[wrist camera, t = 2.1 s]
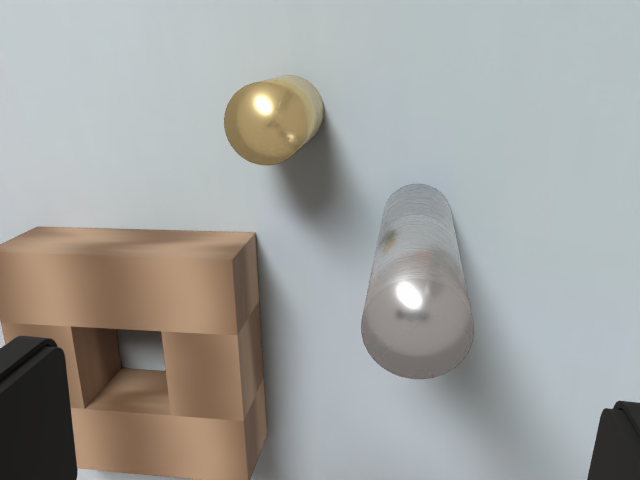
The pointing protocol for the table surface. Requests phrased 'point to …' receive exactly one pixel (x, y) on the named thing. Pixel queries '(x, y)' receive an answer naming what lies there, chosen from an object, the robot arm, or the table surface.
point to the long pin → (417, 289)
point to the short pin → (273, 118)
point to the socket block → (151, 315)
